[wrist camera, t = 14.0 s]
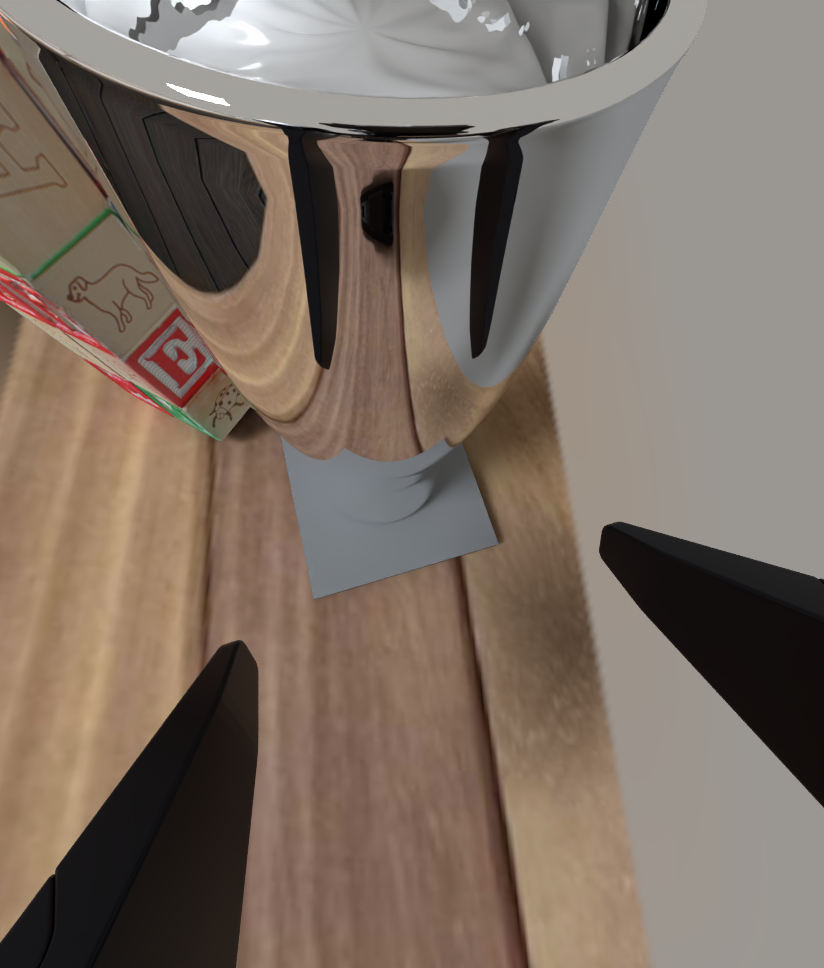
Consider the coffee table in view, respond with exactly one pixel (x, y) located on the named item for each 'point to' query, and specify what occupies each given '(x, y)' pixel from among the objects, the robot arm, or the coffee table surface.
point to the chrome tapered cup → (360, 192)
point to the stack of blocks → (92, 266)
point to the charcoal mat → (386, 528)
